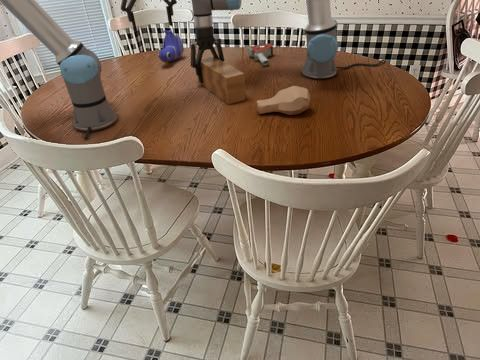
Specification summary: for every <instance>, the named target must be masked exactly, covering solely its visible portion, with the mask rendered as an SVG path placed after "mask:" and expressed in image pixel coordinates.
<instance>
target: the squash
mask: <svg viewBox="0 0 480 360" xmlns="http://www.w3.org/2000/svg"><path fill="white" fill-rule="evenodd" d="M311 98H312V97H311V95H310V90H309V89H307V88H306V87H302V86H298V85H292V86H289V87H287V88H283V89H280V90H279V91H277V92H276V94H275V95H274V96H272V97H271V98H265V99H257V100H256V102H255V103H256V107H257V109H256V110H257V113H258V114H259V115H263V114H266V113H273V112H275V113H282V114H284V115H287V116H295V115H300V114H301V113H303V112H305V111H306V110H308V109H309V107H310V102H311Z"/></svg>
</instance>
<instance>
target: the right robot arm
mask: <svg viewBox="0 0 480 360" xmlns="http://www.w3.org/2000/svg"><path fill="white" fill-rule="evenodd" d="M305 3H306V13H307V20H308V24H307V25H306V27H305V38H306V59H305V60H304V62H303V66H302V71H301V74H302V76H303V77H305V78H307V79H312V80H328V79H332V78H334V77H336V75H337V69H341V70H346V69H350V68H351V67H353V66H367V67H376V66H379V65H380V64H382V63H383V62H384V63H386V62H387V61H386V60H385V59H381V60H380V61H379V62H378V63H363V62H361V63H360V62H358V63H351V64H349V65H348V66H337V65H336V59H335V57H336V56H337V53H338V50H339V42H338V34H337V29H338V21H337V20H336V19H332V10H331V9H332V7H331V0H305ZM191 6H192V13H193V22H194V23H193V24H194V32H195V37H196V39H195V41H194V42H190V43H189V46H190V67H191V68H193V69H195V75H196V77H197V76H198V78H199V82H200V83H203V79H202V71H201V68H200V62H201V59H202V57H203V55H204V53H205V51H207V50H210V53H211V55H212V56H214V57H215V58H217V59H219V60H221V61H223V62H225V56H224V51H223V48H222V39H221V38H220V37H215V32H214V26H213V25H214V21H213V20H214V19H213V11H231V12H232V11H237V10H240V9H241V7H242V0H191ZM214 44H215V46H216V48H215V46H214ZM197 46H198V48H197ZM198 78H197V79H198ZM199 82H198V83H199ZM200 83H199V84H200Z"/></svg>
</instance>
